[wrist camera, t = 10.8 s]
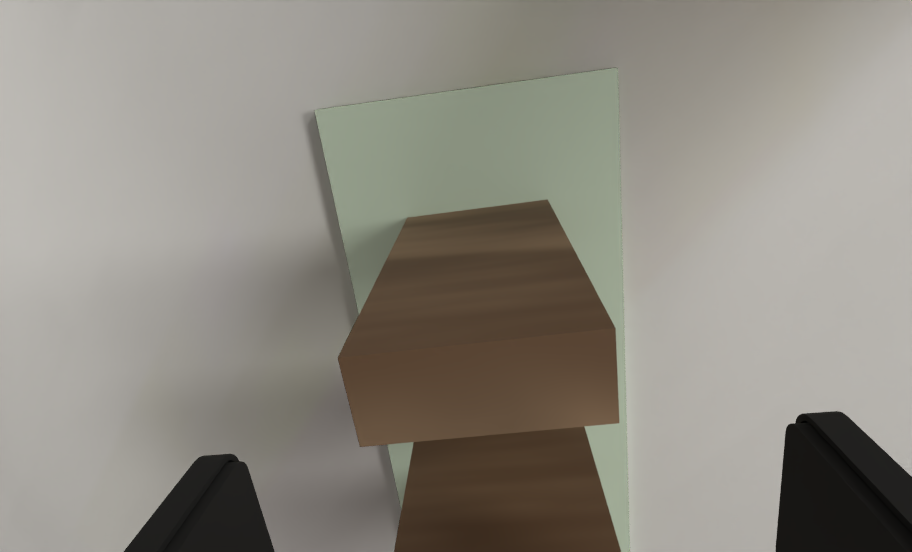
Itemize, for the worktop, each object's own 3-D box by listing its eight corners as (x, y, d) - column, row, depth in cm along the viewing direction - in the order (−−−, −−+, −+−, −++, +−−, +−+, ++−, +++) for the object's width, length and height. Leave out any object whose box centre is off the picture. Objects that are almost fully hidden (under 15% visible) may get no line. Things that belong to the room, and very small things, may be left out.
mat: (631, 698, 34) (633, 707, 34) (446, 706, 35) (445, 715, 35) (614, 68, 21) (617, 67, 20) (317, 109, 22) (314, 110, 21)
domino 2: (561, 382, 26) (625, 625, 14) (437, 393, 26) (405, 637, 15) (558, 337, 25) (623, 558, 13) (430, 350, 25) (389, 573, 14)
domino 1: (552, 253, 23) (619, 423, 12) (416, 269, 24) (359, 446, 13) (547, 199, 22) (615, 328, 11) (407, 217, 23) (337, 357, 12)
